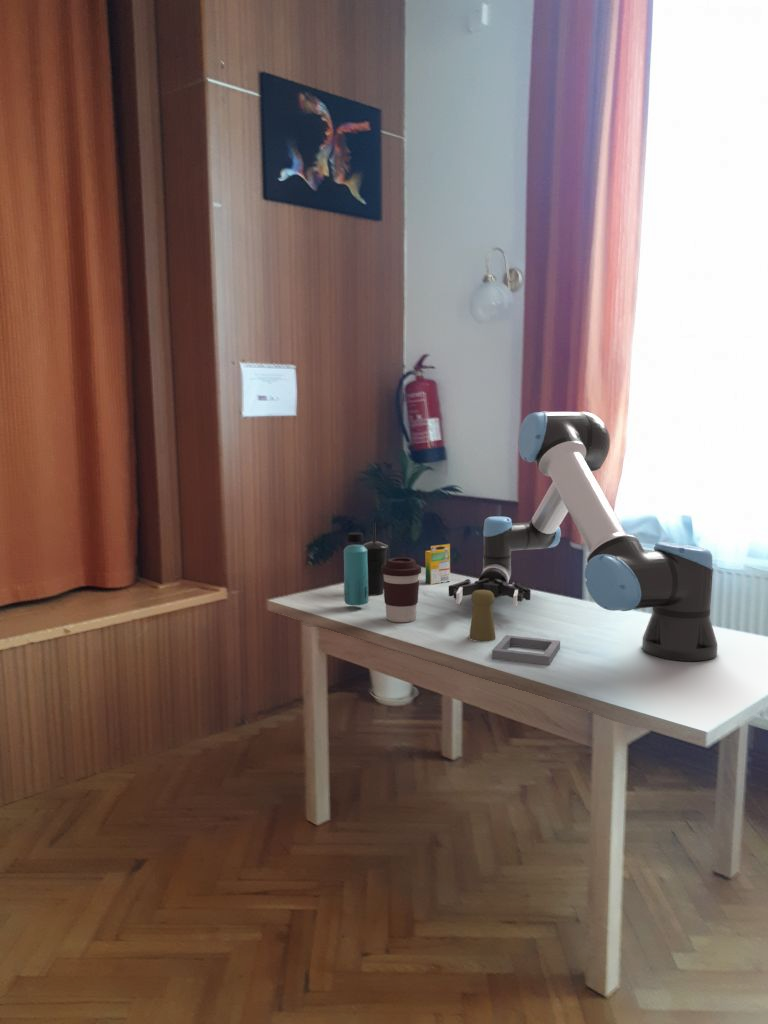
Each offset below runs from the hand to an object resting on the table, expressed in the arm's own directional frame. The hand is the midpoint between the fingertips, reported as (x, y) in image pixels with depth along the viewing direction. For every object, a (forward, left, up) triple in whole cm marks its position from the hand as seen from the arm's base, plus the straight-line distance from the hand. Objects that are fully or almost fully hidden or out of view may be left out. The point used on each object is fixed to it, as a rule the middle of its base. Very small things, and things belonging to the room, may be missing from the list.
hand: (486, 600), depth 191 cm
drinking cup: (+38, -22, -7) cm, 45 cm away
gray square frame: (-14, +17, -6) cm, 23 cm away
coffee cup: (+21, +1, -7) cm, 22 cm away
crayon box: (+26, -42, -7) cm, 50 cm away
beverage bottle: (+36, -5, -7) cm, 37 cm away
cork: (-2, +9, -7) cm, 12 cm away
